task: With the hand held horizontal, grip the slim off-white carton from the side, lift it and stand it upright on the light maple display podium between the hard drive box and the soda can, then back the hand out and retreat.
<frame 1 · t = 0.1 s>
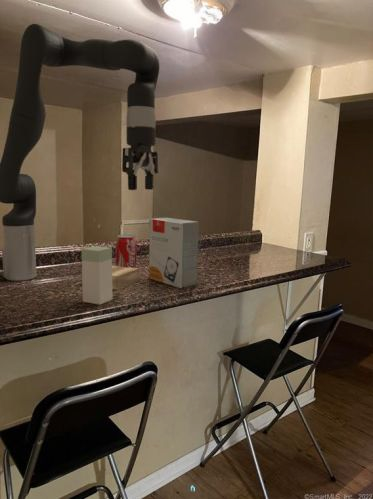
hand: (141, 189, 105), 29 cm above the countertop, tool pointing down, fingers open, 8 cm apart
hard drive box: (172, 282, 125), on the countertop
carton: (97, 300, 105), on the countertop
soda can: (126, 273, 137), on the countertop
podium: (112, 282, 123), on the countertop
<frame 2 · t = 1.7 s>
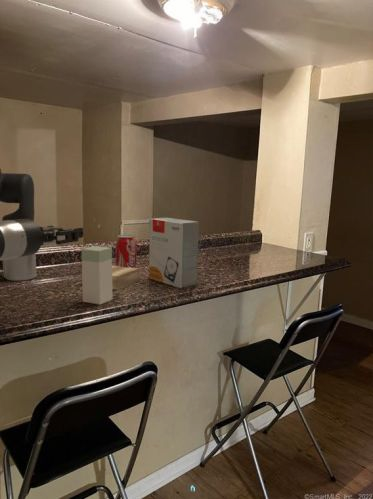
hand: (67, 231, 91), 20 cm above the countertop, tool horizontal, fingers open, 8 cm apart
nothing on the countertop moved.
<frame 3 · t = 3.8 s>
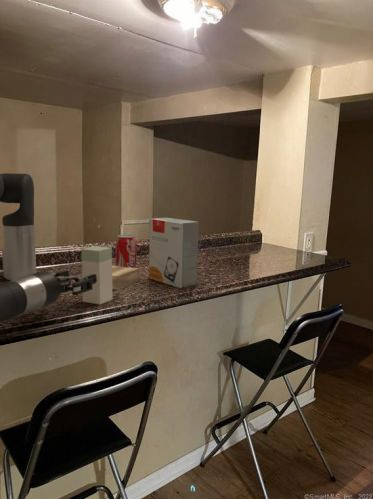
hand: (81, 276, 97), 8 cm above the countertop, tool horizontal, fingers open, 8 cm apart
nothing on the countertop moved.
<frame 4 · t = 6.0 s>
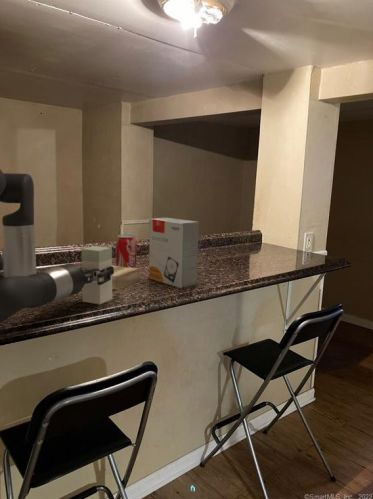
hand: (102, 269, 105), 8 cm above the countertop, tool horizontal, fingers closed on carton, 5 cm apart
carton: (97, 300, 105), on the countertop, touching gripper
everything else where it was.
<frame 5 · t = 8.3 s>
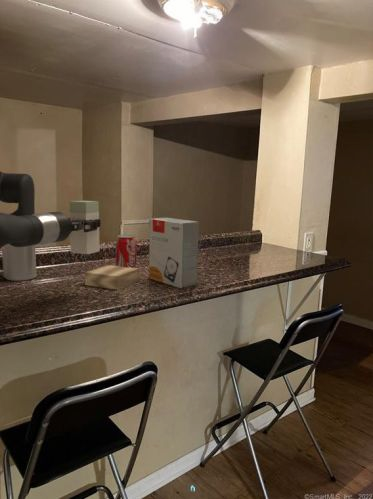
hand: (90, 222, 110), 20 cm above the countertop, tool horizontal, fingers closed on carton, 5 cm apart
carton: (85, 251, 109), point 12 cm above the countertop, touching gripper
everything else where it was.
when the fingers open (13 cm above the countertop, at t = 11.1 s): carton drops 1 cm, resting on podium.
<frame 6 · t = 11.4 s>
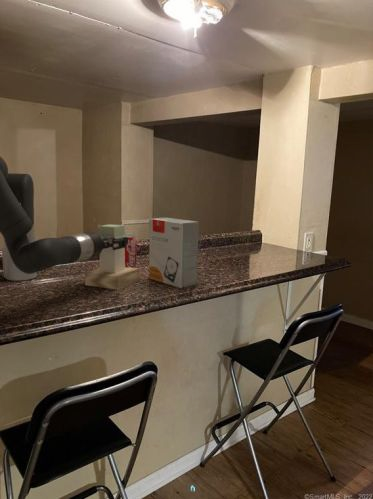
hand: (115, 239, 122), 14 cm above the countertop, tool horizontal, fingers open, 7 cm apart
carton: (112, 270, 122), point 4 cm above the countertop, touching podium
everything else where it was.
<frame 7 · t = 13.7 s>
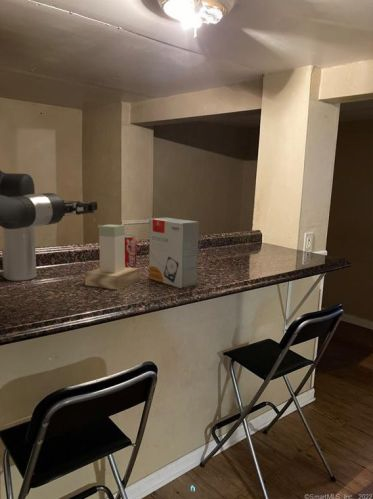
hand: (83, 204, 107), 25 cm above the countertop, tool horizontal, fingers open, 8 cm apart
nothing on the countertop moved.
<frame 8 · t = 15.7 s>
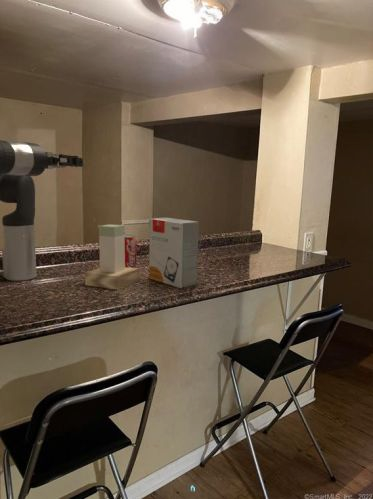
hand: (68, 162, 103), 36 cm above the countertop, tool horizontal, fingers open, 8 cm apart
nothing on the countertop moved.
at the end: carton inside the target area (0.1 cm from its centre), point 4.0 cm above the countertop; carton tilted 0°; the gripper is holding nothing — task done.
